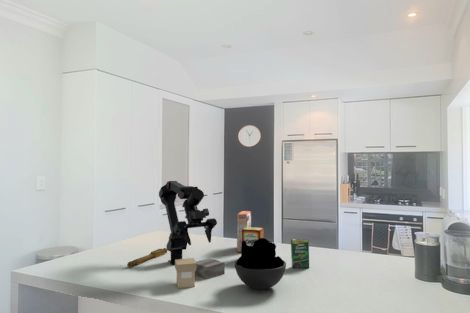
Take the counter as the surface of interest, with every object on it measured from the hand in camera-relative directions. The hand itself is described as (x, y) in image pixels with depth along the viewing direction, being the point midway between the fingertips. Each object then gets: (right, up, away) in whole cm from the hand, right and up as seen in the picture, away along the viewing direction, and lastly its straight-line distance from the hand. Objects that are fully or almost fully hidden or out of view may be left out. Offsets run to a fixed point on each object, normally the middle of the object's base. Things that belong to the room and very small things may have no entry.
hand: (200, 243), depth 150 cm
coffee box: (+45, -15, +14) cm, 50 cm away
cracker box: (+20, -15, +48) cm, 55 cm away
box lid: (-5, -8, -8) cm, 13 cm away
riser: (+3, -15, +5) cm, 16 cm away
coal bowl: (+25, -14, -12) cm, 31 cm away
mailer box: (-5, -14, -9) cm, 18 cm away
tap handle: (-29, -16, +29) cm, 44 cm away
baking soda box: (+24, -15, +27) cm, 39 cm away
